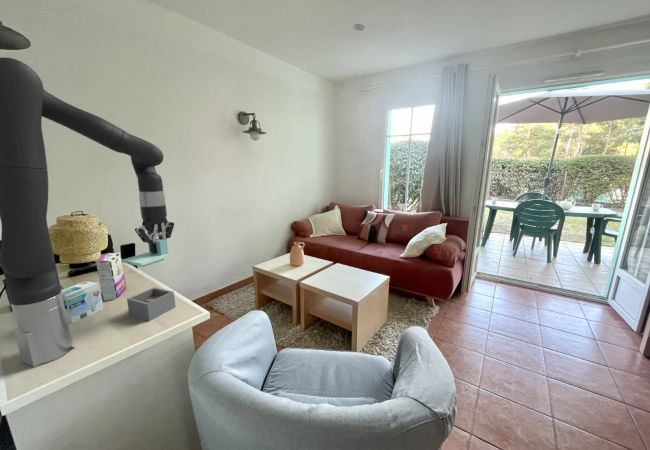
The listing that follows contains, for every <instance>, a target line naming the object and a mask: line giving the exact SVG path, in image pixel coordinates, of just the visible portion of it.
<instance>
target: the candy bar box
mask: <svg viewBox="0 0 650 450" xmlns="http://www.w3.org/2000/svg"><path fill="white" fill-rule="evenodd" d="M121 260H122V255H121V252H112V253H110V252H109V253H106V254H105V255H103V256H102V257H101V258H100V259H98V260H97V261H96V262H95V266H96V269H97V274H98V279H99V285H100V291H101V296H102V301H104V302H105V301H106V302H107V301H113V300H117V299H118V298H120V296H122V294H123V293H124V291H125V290H126V289H127V284H126V278H125V274H124V273H125V272H124V267H123V262H122V261H121Z"/></svg>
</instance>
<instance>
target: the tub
mask: <svg viewBox="0 0 650 450" xmlns="http://www.w3.org/2000/svg"><path fill="white" fill-rule="evenodd" d="M152 296H158V297H159V298H157V299H155V300H153V301H150V302H148V303H147V302H145V301H146V300H147V299H149V298H150V297H152ZM126 302H127V307H128V308H127V309H128V313H129V316H130V317H132V318H137V319H140V320H144V321H146V322H147V321H148V322H151V321H153V320H155V319H156V318H159V317H160V316H162V315H164V314H166V313H168V312H170V311H171V310H173V309H175V308H176V301H175V292H174V290H173V291H172V290H168V289H164V288H160V287H155V286H154V287H152V288H149V289H147V290H145V291H142V292H140V293H138V294H135V295H133V296H131V297H128V298H126Z"/></svg>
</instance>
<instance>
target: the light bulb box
mask: <svg viewBox="0 0 650 450" xmlns="http://www.w3.org/2000/svg"><path fill="white" fill-rule="evenodd" d="M61 292H62V297H63V302H64V306H65V311H66V316H67V320H68V325H70V324H73V323H74V324H75V323H77V322H79V321H80V320H83V319H85V318H86V317H88V316H91V315H93V314H94V313H97V312H99V311H100V310H103V309H104V303H103V296H102V290H101V285H100V282H92V281H82V282H80V283H77V284H74V285H72V286H71V285H70V286H69V287H66V288H64V289H61Z"/></svg>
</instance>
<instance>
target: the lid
mask: <svg viewBox="0 0 650 450" xmlns="http://www.w3.org/2000/svg"><path fill="white" fill-rule="evenodd" d="M147 245H148V251H147V252H144V253H141V254H140V253H139V254H137V255H133V256H130V257H127V258H124V259H121V261H122V264H126V265H130V266H131V265H132V266H135V267H136V266H137V267H141V268H143V267H144V268H145V267H147V266H151V265H152V264H155V263H160V262H162V261H164V260H165V259H167V258H169V250H168V242H167V239H166V240H163V239H159V238H156V245H157V253H156V254H154V253H152V252H151V251H150V246H149V243H147Z"/></svg>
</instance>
